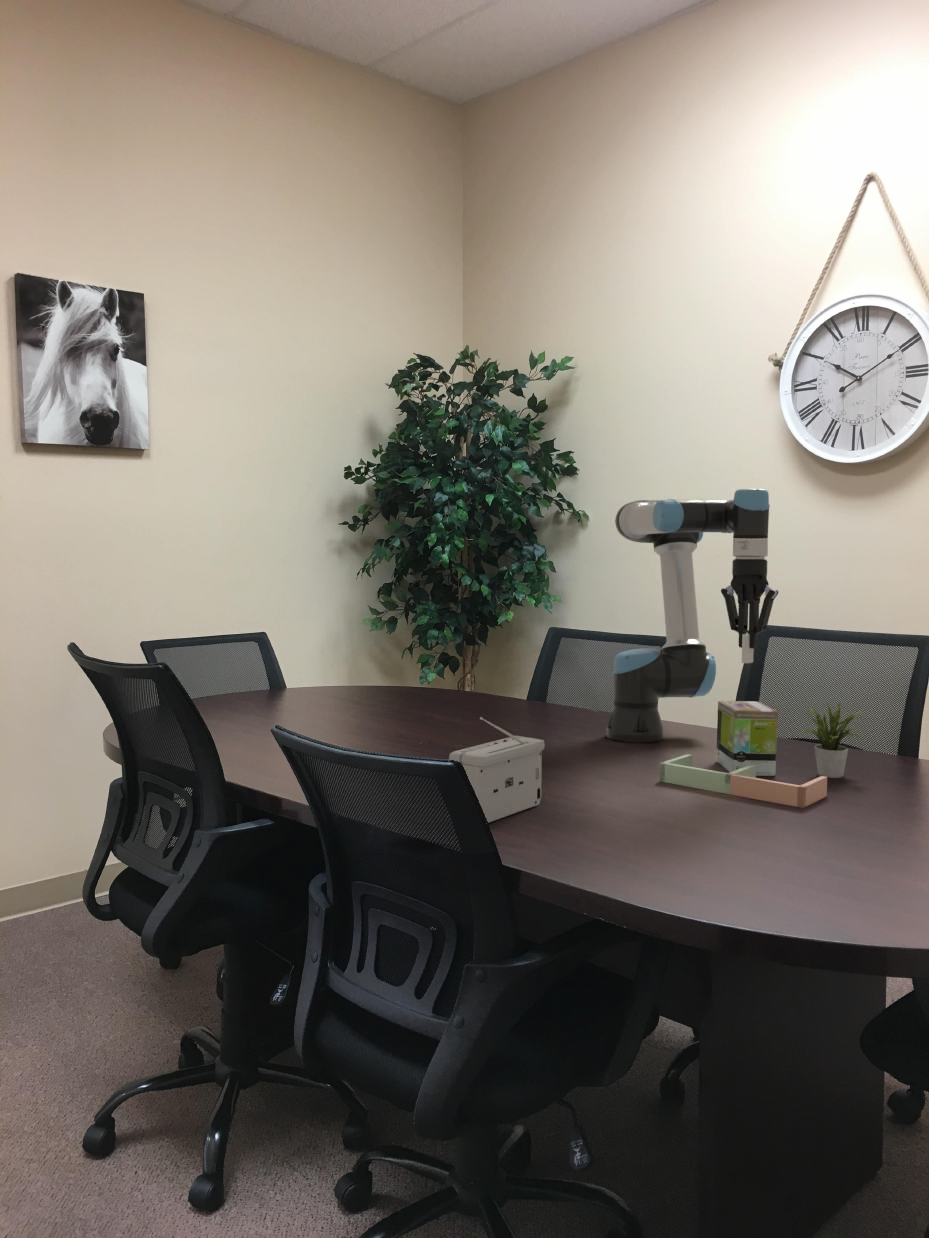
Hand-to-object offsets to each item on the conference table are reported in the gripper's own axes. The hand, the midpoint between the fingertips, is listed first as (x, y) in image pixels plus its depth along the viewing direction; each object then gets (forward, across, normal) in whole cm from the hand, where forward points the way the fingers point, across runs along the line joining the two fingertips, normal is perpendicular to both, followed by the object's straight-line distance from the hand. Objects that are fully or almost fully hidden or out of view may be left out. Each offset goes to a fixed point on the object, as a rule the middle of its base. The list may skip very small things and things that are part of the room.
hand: (747, 662), depth 215 cm
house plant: (+25, +18, +6) cm, 31 cm away
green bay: (+24, 0, -17) cm, 30 cm away
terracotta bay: (+24, +16, -18) cm, 34 cm away
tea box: (+25, 0, 0) cm, 25 cm away
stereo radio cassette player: (+25, -18, -66) cm, 73 cm away
